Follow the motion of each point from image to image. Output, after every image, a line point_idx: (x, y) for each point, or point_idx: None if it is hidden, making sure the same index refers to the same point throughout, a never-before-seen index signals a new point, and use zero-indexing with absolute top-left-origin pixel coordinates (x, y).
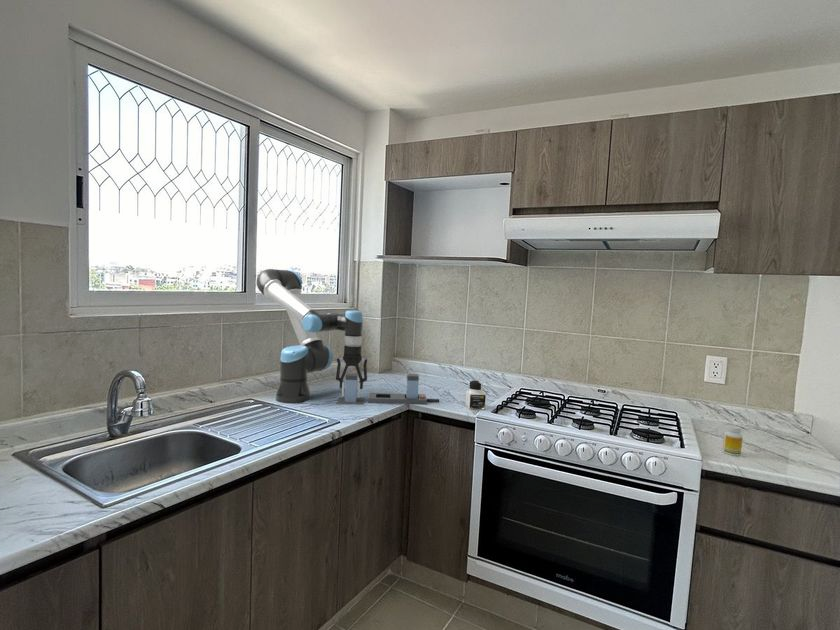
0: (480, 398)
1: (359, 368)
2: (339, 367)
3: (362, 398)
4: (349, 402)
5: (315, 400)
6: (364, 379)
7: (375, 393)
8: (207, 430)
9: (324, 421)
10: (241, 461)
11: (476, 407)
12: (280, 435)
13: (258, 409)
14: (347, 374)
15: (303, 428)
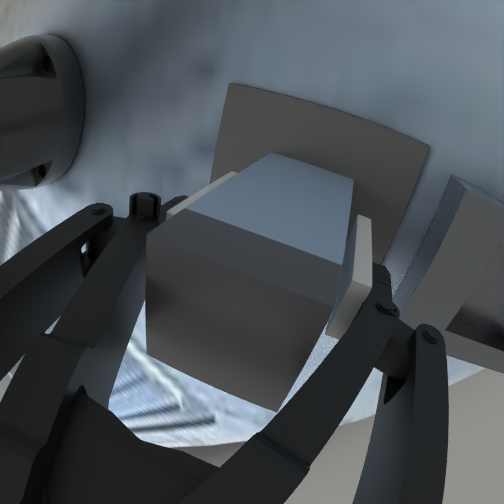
0: None
1: (314, 453)
2: (23, 345)
3: (404, 166)
4: None
5: (106, 141)
6: (385, 379)
7: (499, 227)
8: None
9: (172, 400)
10: None
11: None
12: (110, 410)
13: (9, 235)
14: (162, 325)
15: (136, 407)
